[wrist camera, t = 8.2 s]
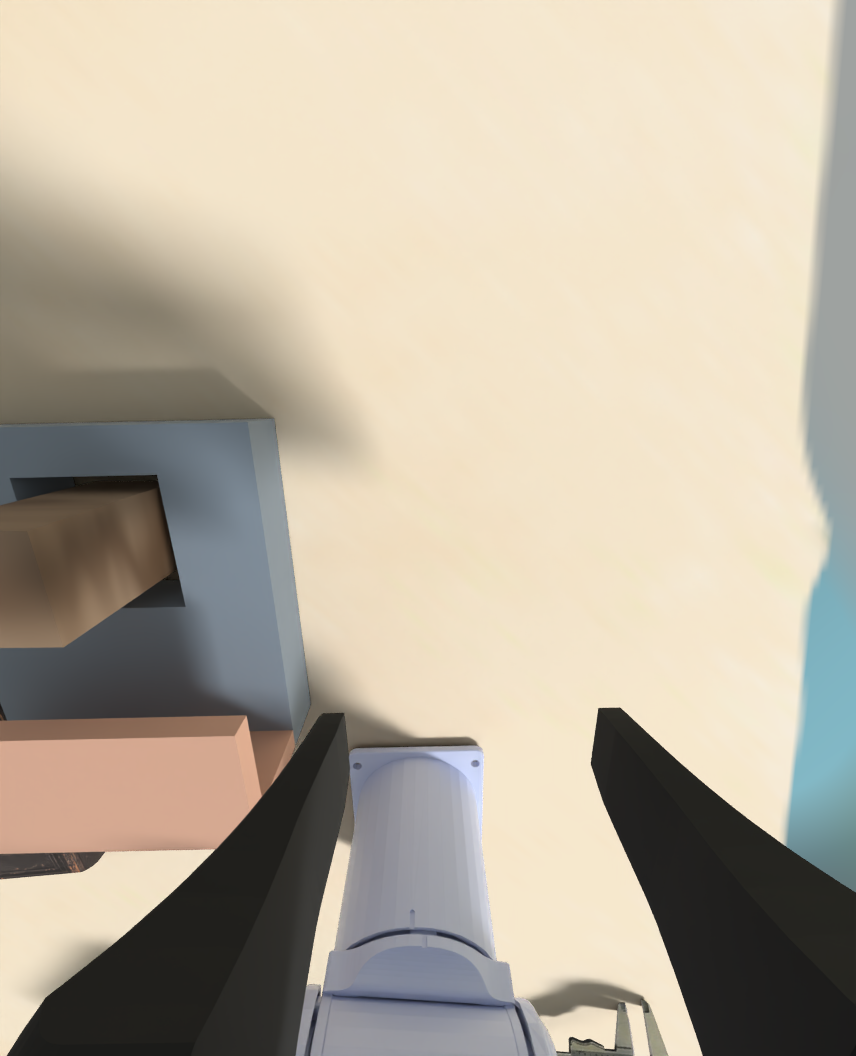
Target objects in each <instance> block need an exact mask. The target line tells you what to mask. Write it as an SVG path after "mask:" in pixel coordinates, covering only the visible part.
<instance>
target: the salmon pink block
mask: <svg viewBox="0 0 856 1056" xmlns="http://www.w3.org/2000/svg"><path fill="white" fill-rule="evenodd" d="M294 748H295V741H294V734H293V730H284V731H249V726H248V721H247V716H246V715H239V716H193V717H148V718H102V719H57V720H12V721H0V854H20V853H65V852H110V851H155V850H200V849H217V848H218V846H219V845H220V844H221V843H222V842H223V841H224V840H225V839H226V838H227V837H228V836H229V835H230V834H231V832H232V831H233V830H234V829H235V828H236V827H237V826H238V825H239V823H240V822H241V821H242V820H243V819H244V818H245V817H246V815H247V814H248V813H249V812H250V811H251V809H252V808H253V807H254V806H255V805H256V803H257V802H258V801H259V800H260V798H261V797H262V796H263V795H264V793H265V792H266V791H267V790H268V789H269V787H270V786H271V785H272V784H273V782H274V781H275V780H276V778H277V777H278V776H279V774H280V773H281V772H282V770H283V769H284V768H285V766H286V765H287V763H288V762H289V761H290V759H291V756H292V754H293V751H294Z"/></svg>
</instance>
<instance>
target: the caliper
mask: <svg viewBox="0 0 856 1056" xmlns="http://www.w3.org/2000/svg"><path fill="white" fill-rule="evenodd" d="M641 1003H642V1008H643V1013H644V1019H645V1026H646V1032H647V1039H648V1045H649V1051H650V1056H668V1054H667V1051H666V1048H665V1045H664V1043H663V1040H662V1037H661V1034H660V1032H659V1029H658V1026H657V1023H656V1021H655V1018H654V1015H653V1013H652V1010H651V1008H650V1005H649V1004H648V1003H647V1002H646V1001H644V1000H641ZM556 1053H557V1056H634V1048H633V1041H632V1035H631V1028H630V1022H629V1019H628V1015H627V1009H626V1005H625V1003H620V1004H618V1011H617V1023H616V1036H615V1049H605V1048H604V1046H603V1045H601V1044H599V1043H597V1042H595V1041H593V1040H591V1039H586V1040H584V1041H581V1040H578V1039H576V1038H574V1037H570V1038H569V1052H558V1051H556Z"/></svg>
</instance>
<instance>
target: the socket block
mask: <svg viewBox="0 0 856 1056" xmlns="http://www.w3.org/2000/svg"><path fill="white" fill-rule="evenodd" d="M126 475H157V478H158V482H159V487H160V491H161V496H162V501H163V505H164V510H165V514H166V519H167V523H168V528H169V533H170V537H171V542H172V546H173V551H174V555H175V560H176V565H177V569H178V574H179V578H180V580H161V581H159V582H158V583H157V584H155V585H154V586H152V587H151V588H149V589H148V590H146V591H145V592H143V593H142V594H141V595H139V596H138V597H136V598H135V599H133V600H132V601H130V602H129V603H127V604H126V605H125V606H123V607H122V608H120V609H119V610H117V611H116V612H114V613H113V614H111V615H110V616H109V617H107V618H106V619H104V620H103V621H101V622H100V623H98V624H97V625H95V626H94V627H93V628H91V629H90V630H88V631H87V632H85V633H84V634H82V635H81V636H79V637H78V638H77V639H75V640H74V641H72V642H71V643H69V644H68V645H66V646H65V647H53V648H0V704H1V706H2V709H3V711H4V714H5V716H6V719H7V721H12V720H57V719H102V718H148V717H193V716H239V715H246V716H247V721H248V726H249V731H284V730H293V734H294V741H295V745H296V743H297V740H298V737H299V735H300V732H301V729H302V727H303V724H304V721H305V719H306V716H307V713H308V711H309V708H310V705H311V702H310V695H309V687H308V679H307V671H306V663H305V655H304V648H303V640H302V632H301V624H300V616H299V608H298V601H297V593H296V585H295V577H294V569H293V562H292V554H291V546H290V538H289V530H288V522H287V515H286V507H285V499H284V491H283V483H282V475H281V468H280V460H279V452H278V444H277V436H276V428H275V421H274V419H227V420H180V421H134V422H87V423H40V424H0V505H3V504H7V503H11V502H15V501H19V500H23V499H27V498H31V497H35V496H39V495H43V494H47V493H51V492H55V491H59V490H63V489H67V488H71V487H75V483H74V480H73V477H80V476H126Z"/></svg>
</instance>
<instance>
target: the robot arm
mask: <svg viewBox="0 0 856 1056" xmlns="http://www.w3.org/2000/svg"><path fill="white" fill-rule="evenodd" d="M474 760H477V761H475V762H474ZM356 763H360V764H356ZM591 766H592V769H593V772H594V775H595V779H596V782H597V785H598V788H599V791H600V794H601V797H602V800H603V803H604V805H605V807H606V810H607V812H608V814H609V816H610V819H611V821H612V823H613V825H614V828H615V830H616V832H617V834H618V837H619V839H620V841H621V843H622V845H623V848H624V850H625V852H626V854H627V857H628V859H629V861H630V863H631V865H632V868H633V870H634V872H635V874H636V876H637V879H638V881H639V883H640V885H641V887H642V890H643V892H644V894H645V896H646V898H647V901H648V903H649V906H650V908H651V910H652V913H653V915H654V918H655V920H656V923H657V925H658V928H659V931H660V934H661V936H662V939H663V942H664V945H665V947H666V950H667V953H668V956H669V958H670V961H671V964H672V967H673V969H674V972H675V975H676V978H677V981H678V984H679V987H680V989H681V992H682V995H683V998H684V1001H685V1004H686V1007H687V1010H688V1013H689V1016H690V1018H691V1021H692V1024H693V1027H694V1030H695V1033H696V1036H697V1039H698V1042H699V1045H700V1048H701V1051H702V1054H703V1056H856V892H854V891H852V890H851V889H849V888H848V887H846V886H844V885H843V884H841V883H840V882H838V881H837V880H835V879H834V878H832V877H830V876H829V875H827V874H826V873H824V872H823V871H821V870H820V869H818V868H817V867H815V866H814V865H812V864H811V863H809V862H808V861H806V860H805V859H803V858H802V857H800V856H799V855H797V854H796V853H794V852H793V851H792V850H790V849H789V848H787V847H786V846H784V845H783V844H782V843H780V842H779V841H777V840H776V839H775V838H773V837H772V836H771V835H769V834H768V833H767V832H765V831H764V830H762V829H761V828H760V827H758V826H757V825H756V824H754V823H753V822H752V821H750V820H749V819H748V818H746V817H745V816H744V815H742V814H741V813H740V812H738V811H737V810H736V809H735V808H733V807H732V806H731V805H730V804H728V803H727V802H726V801H725V800H723V799H722V798H721V797H720V796H719V795H717V794H716V793H715V792H714V791H712V790H711V789H710V788H709V787H708V786H706V785H705V784H704V783H703V782H702V781H700V780H699V779H698V778H697V777H696V776H695V775H693V774H692V773H691V772H690V771H689V770H688V769H687V768H685V767H684V766H683V765H682V764H681V763H680V762H679V761H677V760H676V759H675V758H674V757H673V756H672V755H671V754H670V753H669V752H667V751H666V750H665V749H664V748H663V747H662V746H661V745H660V744H659V743H658V742H657V741H656V740H654V739H653V738H652V737H651V736H650V735H649V734H648V733H647V732H646V731H645V730H644V729H643V728H642V727H641V726H639V725H638V724H637V723H636V722H635V721H634V720H633V719H632V718H631V717H630V716H629V715H628V714H627V713H625V712H624V711H623V710H622V709H621V708H598V715H597V723H596V730H595V737H594V744H593V751H592V758H591ZM483 767H484V755H483V750H482V748H481V747H479V746H434V747H388V748H355V749H353V750H351V751H350V753H348V744H347V734H346V725H345V716H344V713H323V714H322V715H321V716H320V717H319V718H318V720H317V721H316V723H315V724H314V726H313V727H312V729H311V730H310V732H309V733H308V735H307V736H306V738H305V739H304V741H303V742H302V744H301V745H300V747H299V748H298V750H297V751H296V752H295V754H294V755H293V757H292V758H291V759H290V761H289V762H288V763H287V765H286V766H285V768H284V769H283V770H282V772H281V773H280V774H279V776H278V777H277V778H276V780H275V781H274V782H273V784H272V785H271V786H270V787H269V789H268V790H267V791H266V792H265V793H264V795H263V796H262V797H261V798H260V800H259V801H258V802H257V803H256V805H255V806H254V807H253V808H252V809H251V811H250V812H249V813H248V814H247V815H246V817H245V818H244V819H243V820H242V821H241V822H240V823H239V825H238V826H237V827H236V828H235V829H234V830H233V831H232V832H231V834H230V835H229V836H228V837H227V838H226V839H225V840H224V841H223V842H222V843H221V844H220V845H219V846H218V848H217V849H216V850H215V851H214V852H213V853H212V854H211V855H210V856H209V857H208V858H207V859H206V860H205V861H204V862H203V863H202V864H201V865H200V866H199V867H198V868H197V869H196V870H195V871H194V872H193V873H192V874H191V875H190V876H189V877H188V878H187V879H186V880H185V881H184V882H183V883H182V884H181V885H180V886H178V887H177V888H176V889H175V890H174V891H173V892H172V893H171V894H170V895H169V896H168V897H167V898H166V899H164V900H163V901H162V902H161V903H160V904H159V905H158V906H157V907H155V908H154V909H153V910H152V911H151V912H150V913H149V914H148V915H146V916H145V917H144V918H143V919H142V920H141V921H140V922H139V923H137V924H136V925H135V926H134V927H133V928H132V929H131V930H130V931H128V932H127V933H126V934H125V935H124V936H123V937H121V938H120V939H119V940H118V941H117V942H115V943H114V944H113V945H112V946H111V947H109V948H108V949H107V950H106V951H104V952H103V953H102V954H101V955H99V956H98V957H97V958H96V959H94V960H93V961H92V962H91V963H89V964H88V965H87V966H85V967H84V968H83V969H82V970H80V971H79V972H78V973H77V974H75V975H74V976H73V977H72V978H70V979H69V980H68V981H67V982H65V983H64V984H63V985H62V986H60V987H59V988H58V989H56V990H55V991H54V992H52V993H51V994H50V995H48V996H47V997H46V998H45V1000H44V1001H43V1002H42V1004H41V1005H40V1007H39V1008H38V1010H37V1011H36V1013H35V1014H34V1015H33V1017H32V1018H31V1020H30V1021H29V1022H28V1024H27V1025H26V1027H25V1028H24V1030H23V1031H22V1033H21V1034H20V1036H19V1037H18V1039H17V1041H16V1042H15V1044H14V1045H13V1047H12V1048H11V1050H10V1052H9V1053H8V1055H7V1056H557V1053H556V1050H555V1047H554V1044H553V1041H552V1039H551V1036H550V1034H549V1032H548V1030H547V1028H546V1027H545V1025H544V1024H543V1022H542V1021H541V1019H540V1018H539V1016H538V1014H537V1012H536V1010H535V1008H534V1007H533V1005H532V1004H531V1003H530V1002H529V1001H528V1000H527V999H524V998H515V997H514V993H513V987H512V980H511V973H510V967H509V964H508V963H507V962H499V961H497V960H496V952H495V944H494V936H493V928H492V920H491V912H490V905H489V897H488V889H487V881H486V873H485V865H484V858H483V850H482V806H483ZM349 773H350V780H351V790H352V800H353V810H354V820H355V827H354V833H353V839H352V845H351V851H350V857H349V863H348V869H347V875H346V882H345V888H344V894H343V900H342V906H341V912H340V918H339V924H338V930H337V936H336V942H335V949H334V951H331V952H330V953H329V957H328V963H327V969H326V975H325V981H324V986H323V992H322V996H321V985H315V984H309V985H307V979H308V973H309V967H310V961H311V955H312V949H313V943H314V937H315V931H316V926H317V921H318V916H319V911H320V907H321V902H322V898H323V894H324V890H325V886H326V882H327V878H328V874H329V870H330V866H331V862H332V858H333V854H334V850H335V845H336V841H337V837H338V833H339V829H340V825H341V821H342V817H343V812H344V808H345V801H346V794H347V787H348V780H349ZM306 985H307V986H306Z"/></svg>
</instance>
